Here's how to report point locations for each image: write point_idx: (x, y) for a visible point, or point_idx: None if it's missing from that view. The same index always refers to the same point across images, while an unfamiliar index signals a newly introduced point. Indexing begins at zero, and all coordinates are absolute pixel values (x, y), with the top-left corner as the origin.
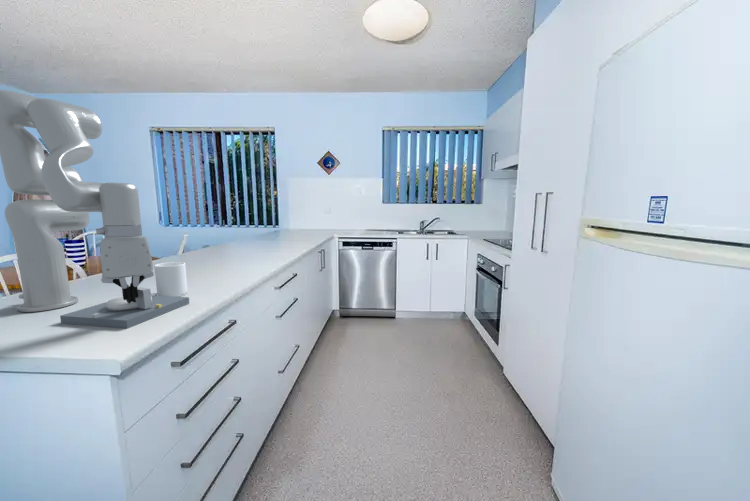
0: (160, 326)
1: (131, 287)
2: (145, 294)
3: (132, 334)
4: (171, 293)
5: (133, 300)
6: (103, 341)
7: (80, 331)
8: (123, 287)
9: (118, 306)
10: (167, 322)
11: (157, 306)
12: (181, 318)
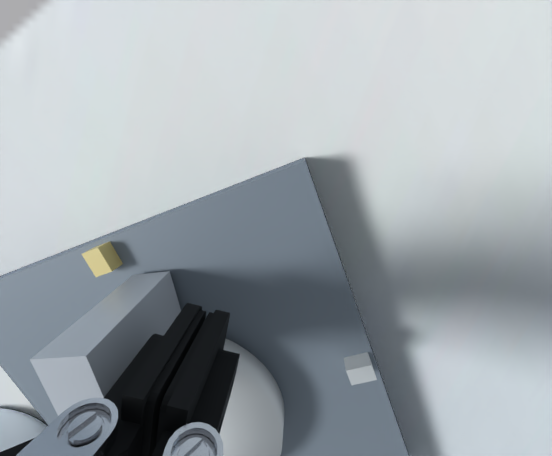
0: (192, 22)
1: (143, 422)
2: (101, 328)
3: (334, 23)
4: (10, 435)
5: (197, 310)
6: (461, 48)
7: (427, 305)
8: (207, 445)
9: (257, 379)
10: (145, 62)
11: (109, 254)
12: (71, 62)
